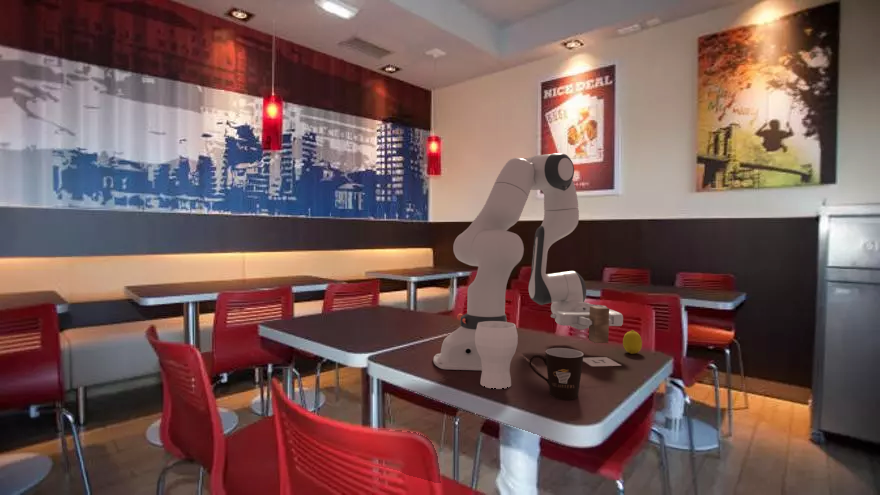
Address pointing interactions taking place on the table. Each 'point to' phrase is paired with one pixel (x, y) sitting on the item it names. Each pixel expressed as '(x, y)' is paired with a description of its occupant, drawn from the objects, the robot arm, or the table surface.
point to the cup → (496, 352)
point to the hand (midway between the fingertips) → (600, 322)
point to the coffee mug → (562, 372)
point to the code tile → (600, 361)
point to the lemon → (632, 342)
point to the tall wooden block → (599, 324)
